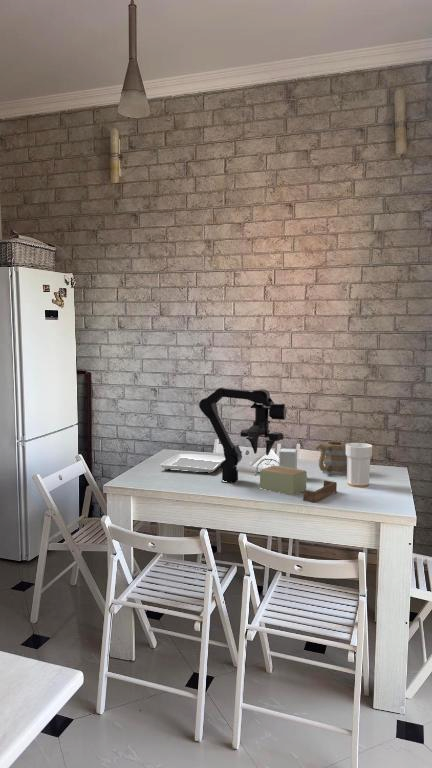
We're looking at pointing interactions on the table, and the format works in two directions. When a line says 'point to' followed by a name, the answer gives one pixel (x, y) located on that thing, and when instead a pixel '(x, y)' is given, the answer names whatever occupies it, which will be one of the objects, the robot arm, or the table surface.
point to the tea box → (283, 479)
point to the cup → (358, 464)
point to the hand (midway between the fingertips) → (261, 454)
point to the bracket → (320, 492)
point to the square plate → (169, 462)
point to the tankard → (333, 458)
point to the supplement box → (288, 458)
